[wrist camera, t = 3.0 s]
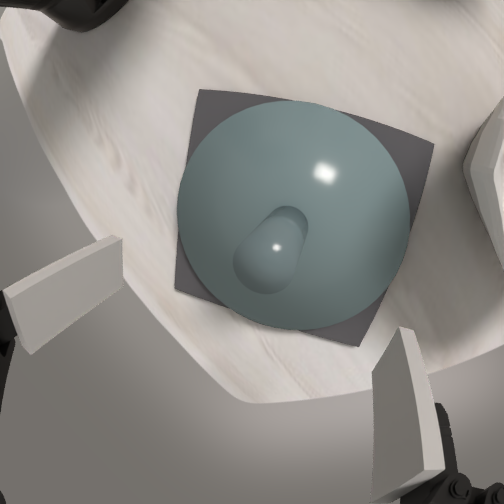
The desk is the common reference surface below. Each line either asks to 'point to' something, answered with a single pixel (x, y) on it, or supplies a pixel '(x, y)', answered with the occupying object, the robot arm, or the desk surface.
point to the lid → (293, 215)
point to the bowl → (489, 176)
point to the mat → (394, 141)
